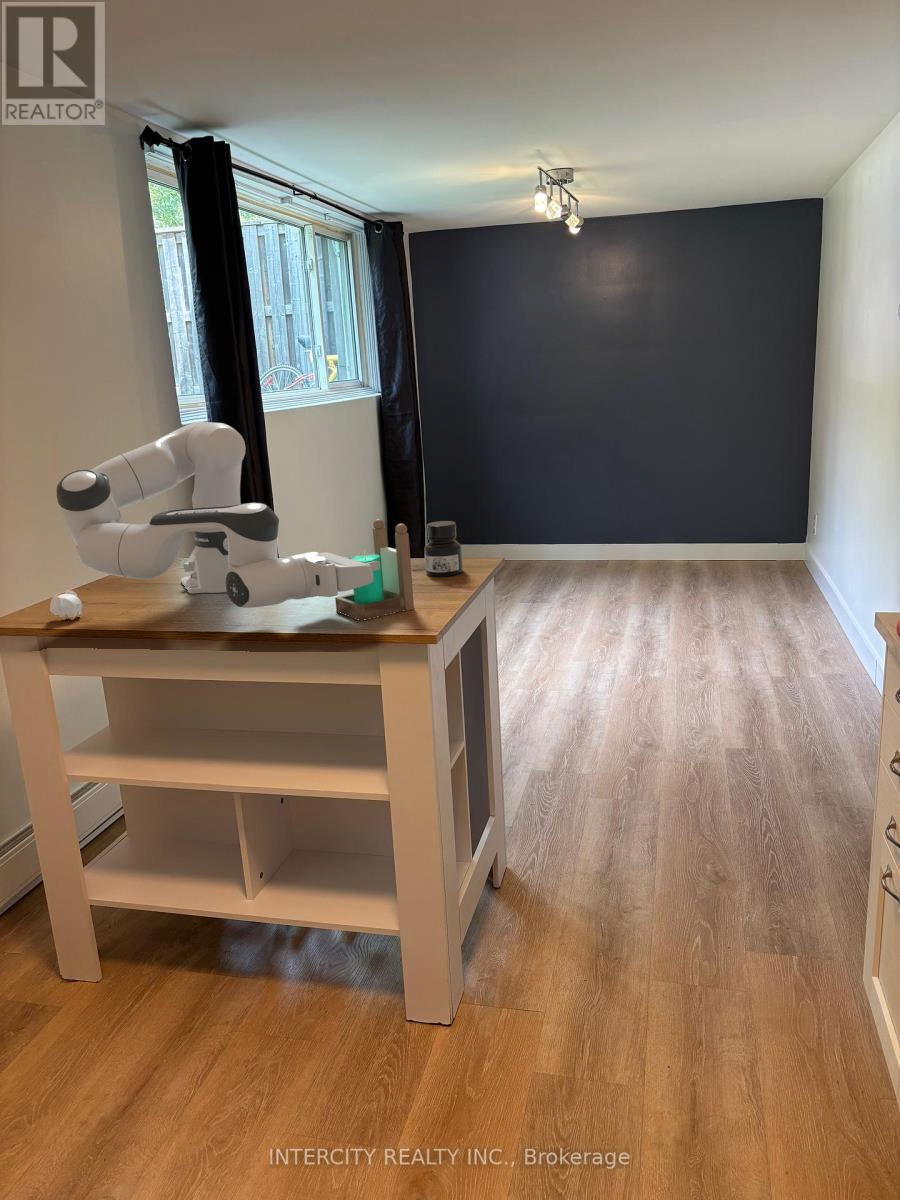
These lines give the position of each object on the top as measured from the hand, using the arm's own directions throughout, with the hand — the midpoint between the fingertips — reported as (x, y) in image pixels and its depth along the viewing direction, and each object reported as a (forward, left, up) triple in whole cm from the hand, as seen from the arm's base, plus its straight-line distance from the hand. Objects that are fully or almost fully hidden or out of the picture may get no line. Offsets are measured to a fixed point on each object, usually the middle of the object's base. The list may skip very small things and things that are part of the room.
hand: (370, 562), depth 193 cm
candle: (0, -1, -9) cm, 9 cm away
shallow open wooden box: (0, -1, -10) cm, 10 cm away
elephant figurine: (-46, -51, -10) cm, 69 cm away
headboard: (0, +6, -10) cm, 12 cm away
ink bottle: (-17, +29, -10) cm, 35 cm away
